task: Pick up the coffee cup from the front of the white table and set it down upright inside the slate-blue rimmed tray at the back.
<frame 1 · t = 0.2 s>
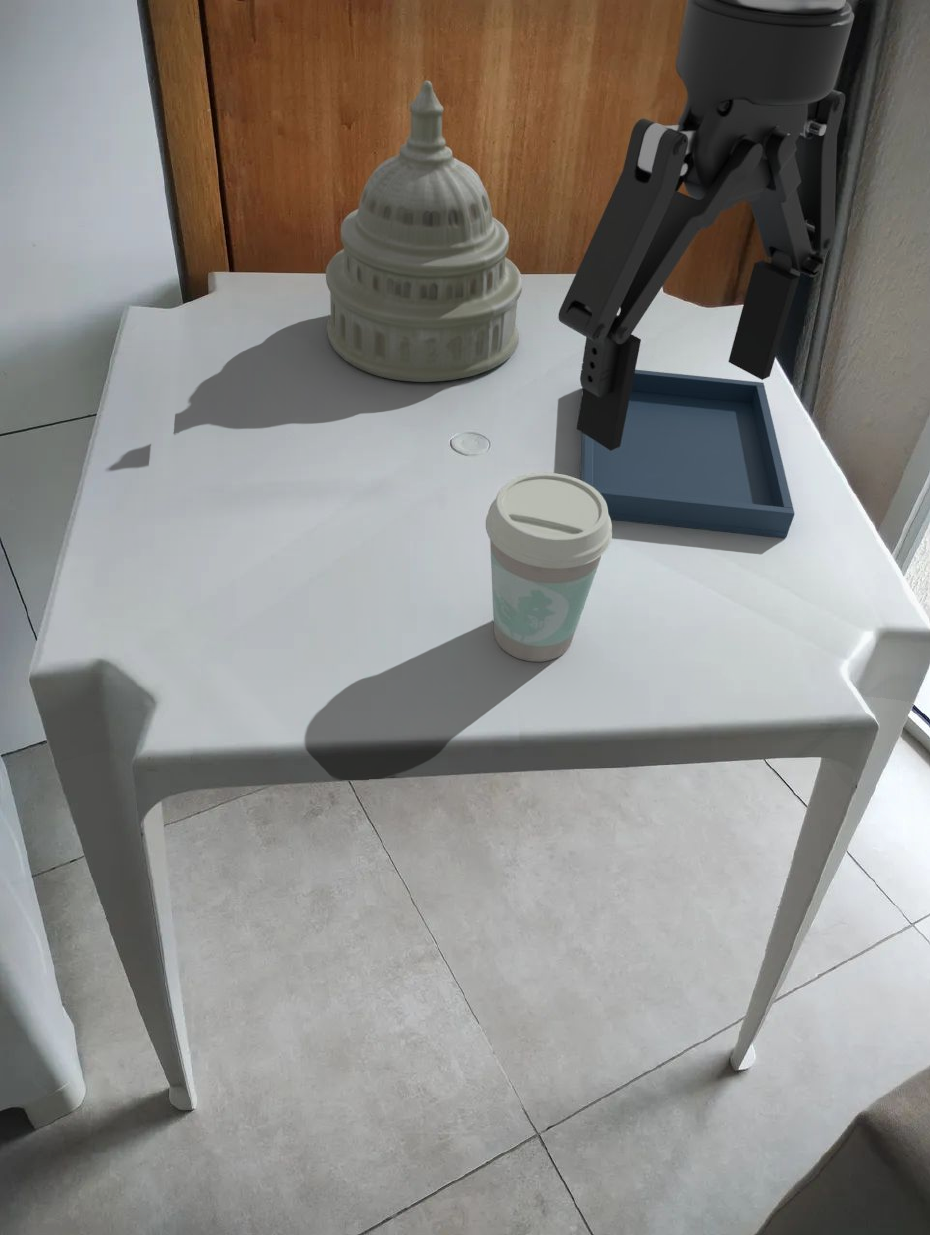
hand: (677, 402, 60), 21 cm above the table, tool pointing down, fingers open, 13 cm apart
dome: (422, 338, 107), on the table
coffee cup: (532, 636, 74), on the table
tray: (675, 456, 93), on the table
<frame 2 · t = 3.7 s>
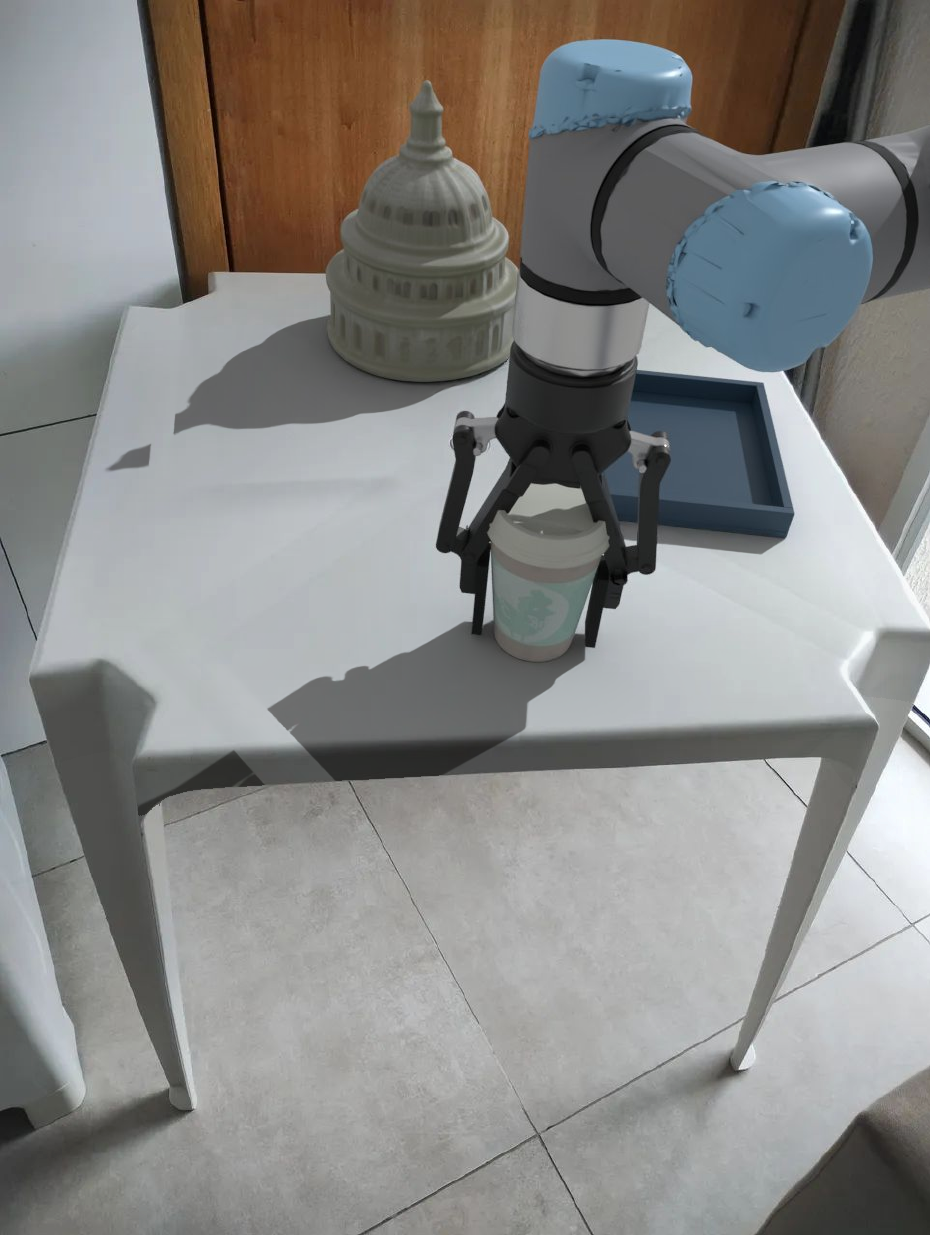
hand: (533, 628, 74), 1 cm above the table, tool pointing down, fingers closed on coffee cup, 8 cm apart
coffee cup: (532, 636, 74), on the table, touching gripper
everything else where it was.
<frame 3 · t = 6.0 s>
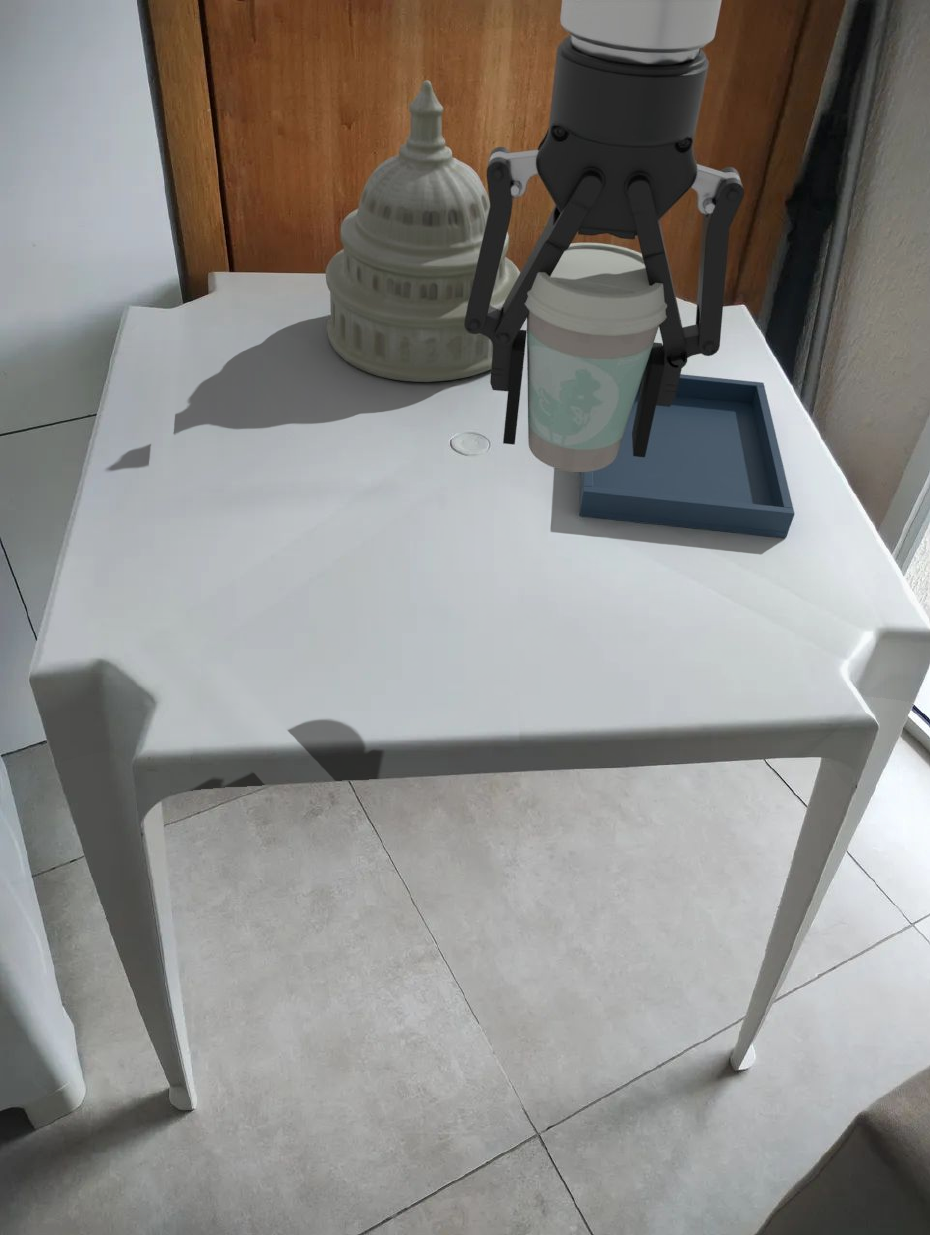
hand: (574, 438, 65), 16 cm above the table, tool pointing down, fingers closed on coffee cup, 8 cm apart
coffee cup: (572, 450, 65), point 15 cm above the table, touching gripper
everything else where it was.
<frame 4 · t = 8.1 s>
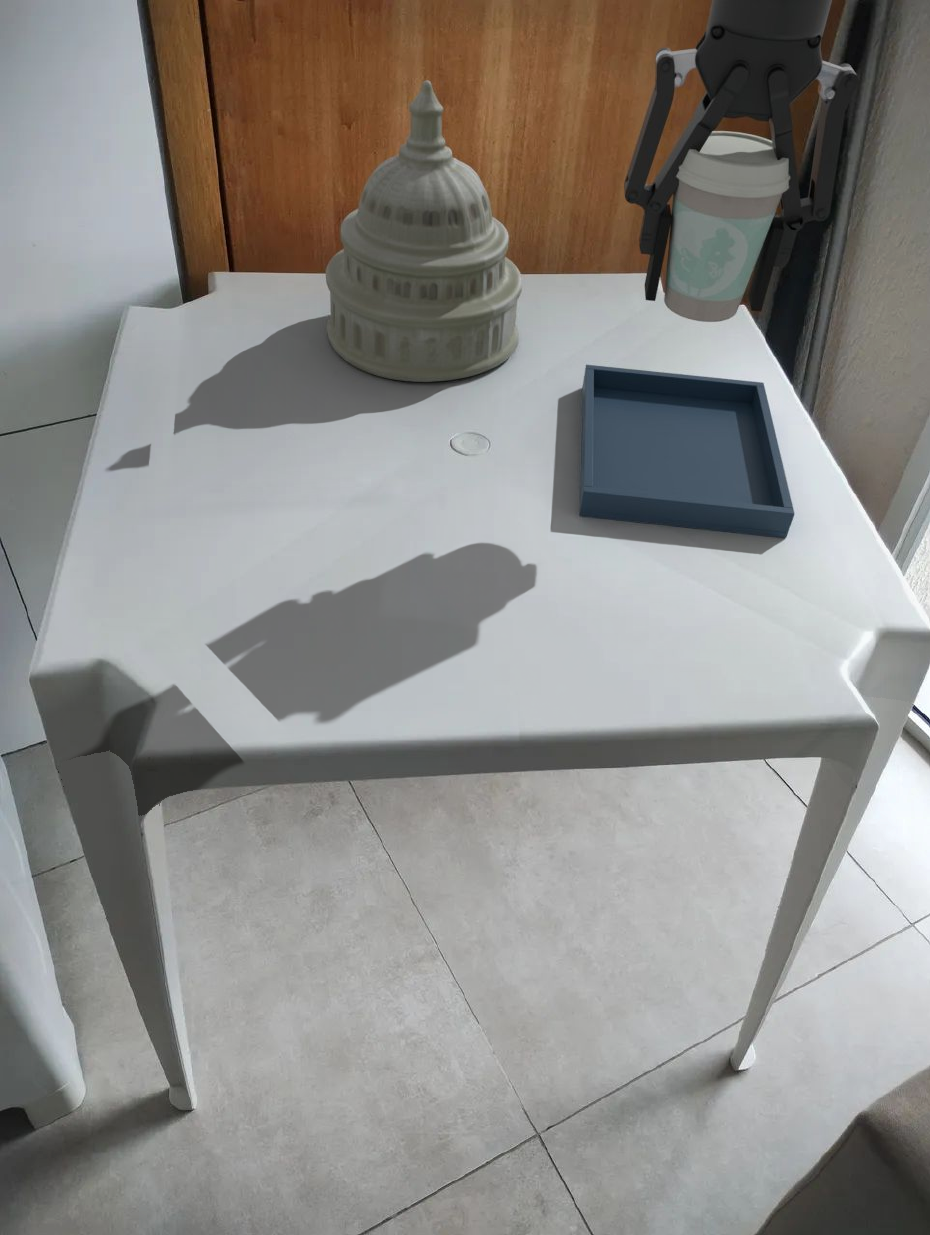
hand: (702, 297, 79), 17 cm above the table, tool pointing down, fingers closed on coffee cup, 8 cm apart
coffee cup: (699, 307, 80), point 16 cm above the table, touching gripper
everything else where it was.
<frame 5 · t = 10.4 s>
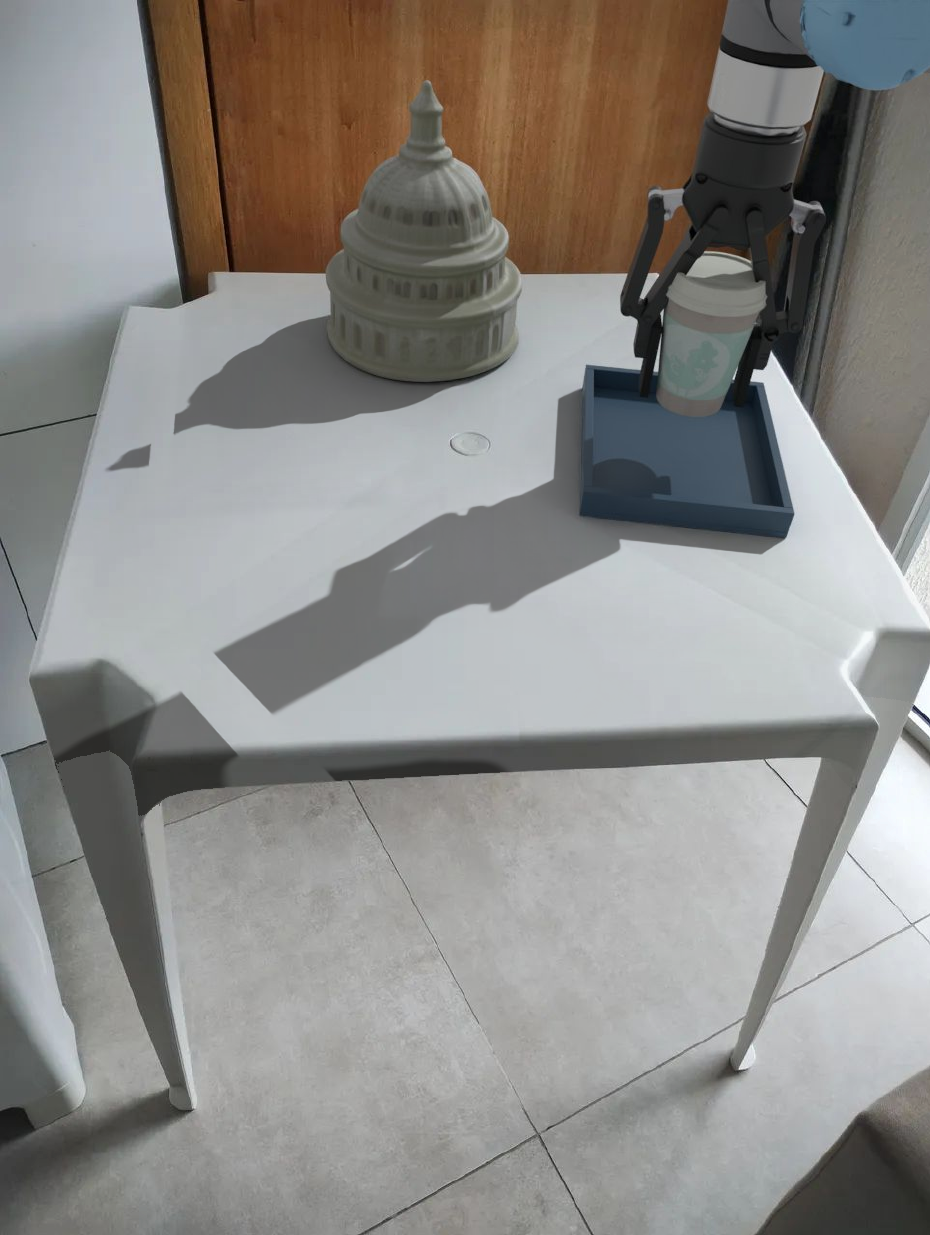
hand: (690, 393, 89), 7 cm above the table, tool pointing down, fingers closed on coffee cup, 8 cm apart
coffee cup: (688, 402, 89), point 6 cm above the table, touching gripper
everything else where it was.
when the fingers open (1 cm above the table, at t = 12.3 s): coffee cup stays where it is, resting on tray.
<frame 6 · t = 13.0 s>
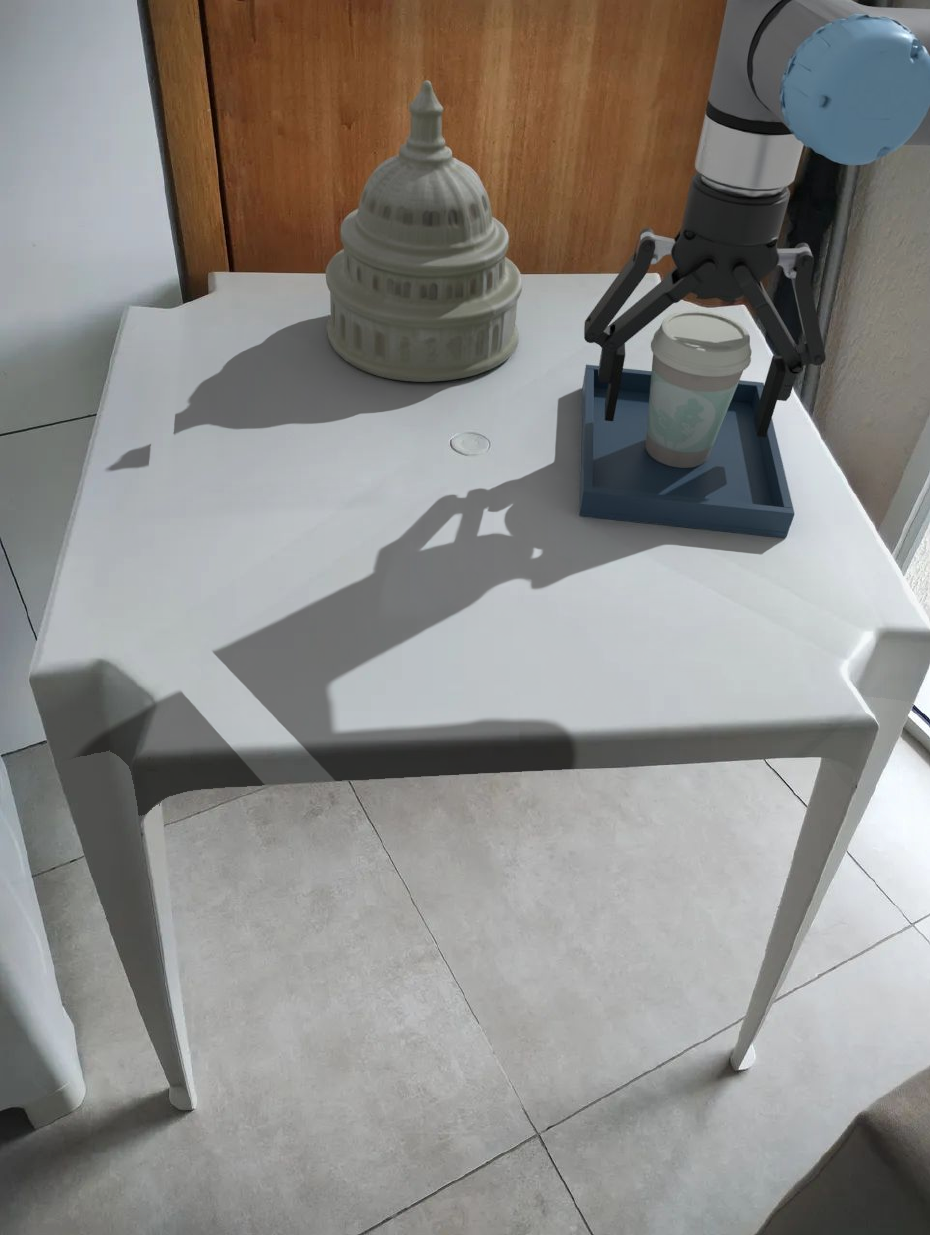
hand: (684, 421, 90), 4 cm above the table, tool pointing down, fingers open, 13 cm apart
coffee cup: (676, 452, 93), resting on tray
everything else where it was.
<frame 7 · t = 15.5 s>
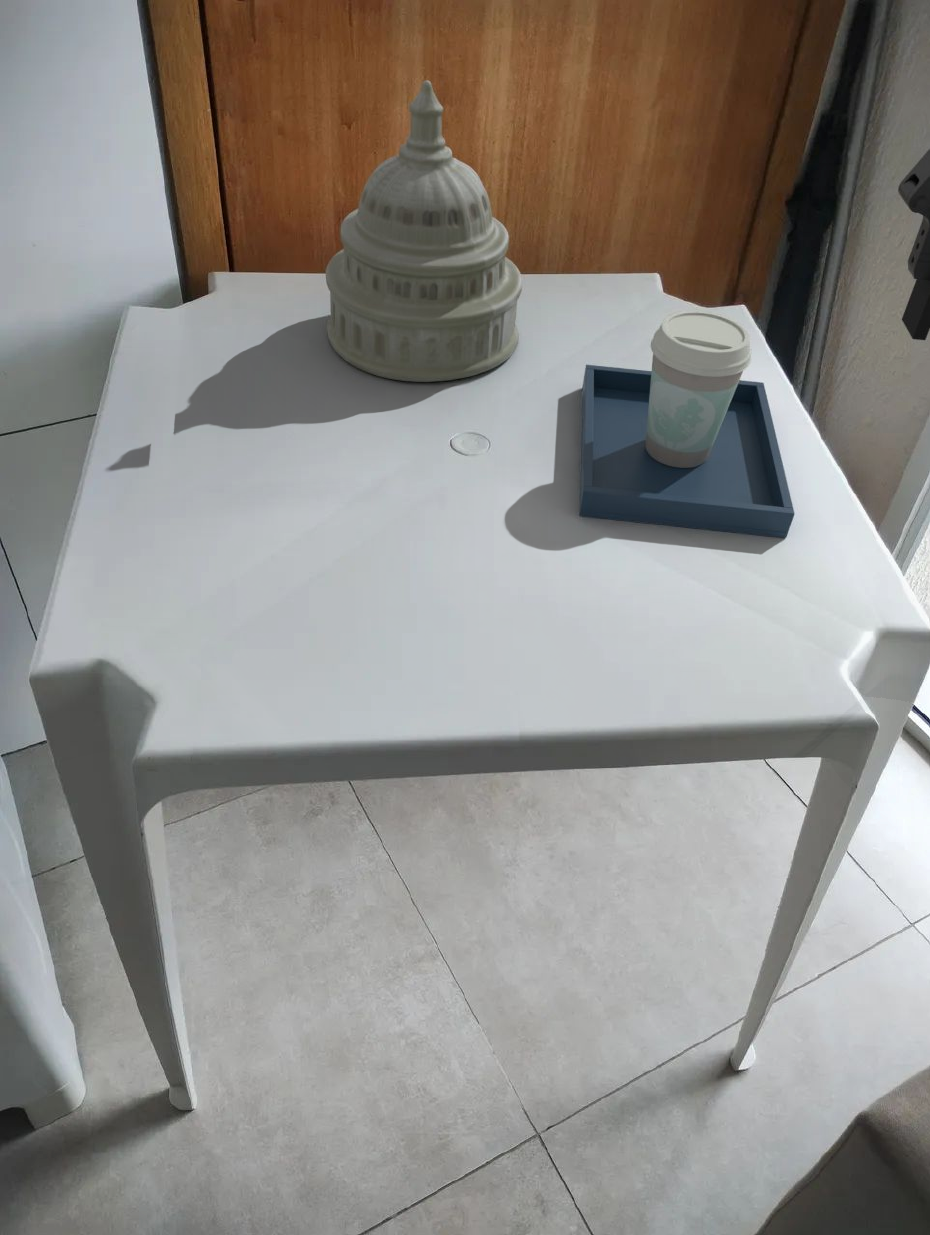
nothing on the table moved.
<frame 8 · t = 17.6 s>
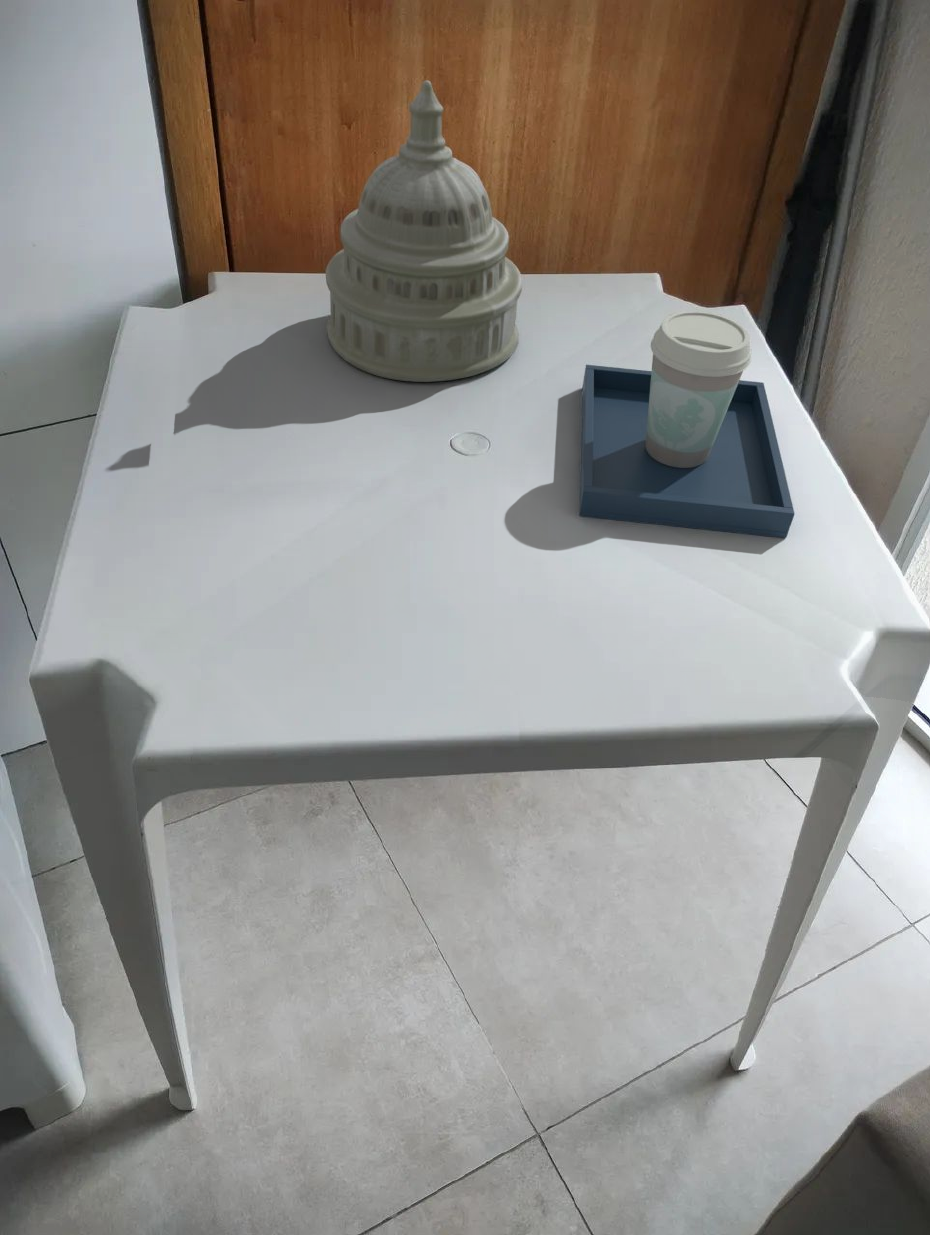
nothing on the table moved.
at the end: coffee cup inside the target area in the tray (0.0 cm from its centre), point 0.4 cm above the tray's base; coffee cup tilted 0°; the gripper is holding nothing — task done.
